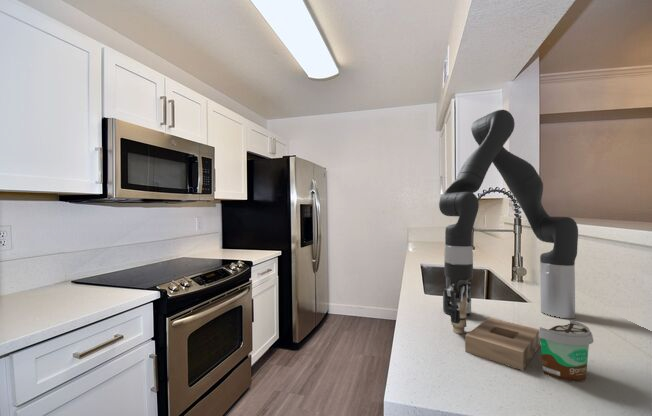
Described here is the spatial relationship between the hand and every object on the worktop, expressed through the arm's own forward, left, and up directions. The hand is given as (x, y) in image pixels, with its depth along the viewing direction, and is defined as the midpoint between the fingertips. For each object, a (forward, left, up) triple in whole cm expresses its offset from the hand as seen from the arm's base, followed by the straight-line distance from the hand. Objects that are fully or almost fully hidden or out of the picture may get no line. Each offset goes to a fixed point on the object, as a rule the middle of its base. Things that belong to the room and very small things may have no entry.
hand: (458, 320), depth 83 cm
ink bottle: (-16, -7, -4) cm, 18 cm away
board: (+2, +12, -3) cm, 13 cm away
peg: (0, 0, -3) cm, 3 cm away
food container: (+5, +26, -4) cm, 27 cm away
